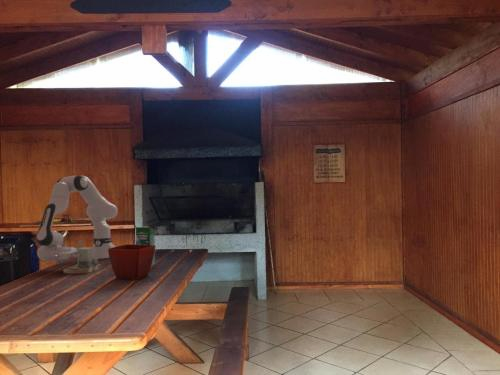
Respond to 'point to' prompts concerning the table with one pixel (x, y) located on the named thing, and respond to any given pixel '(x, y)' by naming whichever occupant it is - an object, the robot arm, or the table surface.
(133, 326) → the table surface
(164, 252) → the table surface
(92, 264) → the dock
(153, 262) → the milk carton
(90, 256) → the pale green handled box
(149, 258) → the plant pot
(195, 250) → the table surface
